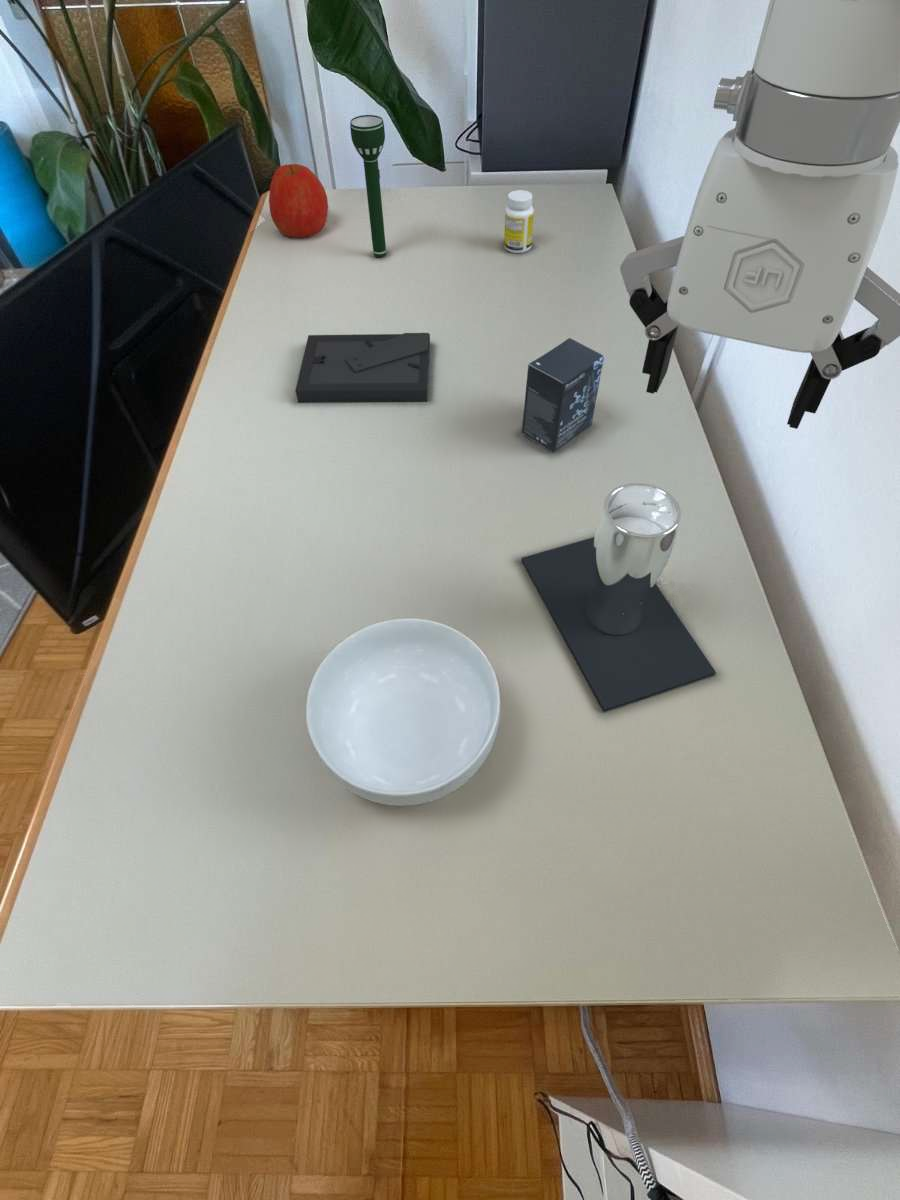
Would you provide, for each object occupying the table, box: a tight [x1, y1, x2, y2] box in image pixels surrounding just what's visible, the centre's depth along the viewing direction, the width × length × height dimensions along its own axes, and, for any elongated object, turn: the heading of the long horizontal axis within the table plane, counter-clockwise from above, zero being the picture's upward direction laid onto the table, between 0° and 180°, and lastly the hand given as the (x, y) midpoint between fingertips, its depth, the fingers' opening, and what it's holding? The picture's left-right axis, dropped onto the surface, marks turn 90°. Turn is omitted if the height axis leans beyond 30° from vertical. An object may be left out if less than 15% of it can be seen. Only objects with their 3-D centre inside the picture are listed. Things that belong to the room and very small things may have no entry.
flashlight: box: [349, 114, 387, 259], centre depth 112 cm, size 5×5×20 cm
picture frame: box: [295, 332, 431, 403], centre depth 98 cm, size 13×2×18 cm
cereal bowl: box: [305, 617, 501, 807], centre depth 62 cm, size 17×17×7 cm
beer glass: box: [584, 482, 682, 635], centre depth 66 cm, size 7×7×15 cm
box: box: [521, 337, 605, 454], centre depth 86 cm, size 8×6×11 cm
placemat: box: [521, 536, 717, 713], centre depth 72 cm, size 20×12×1 cm, turn 19°
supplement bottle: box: [503, 189, 535, 254], centre depth 117 cm, size 5×5×8 cm
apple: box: [268, 163, 329, 238], centre depth 122 cm, size 10×10×10 cm
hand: (723, 399), depth 49 cm, fingers open, 9 cm apart
